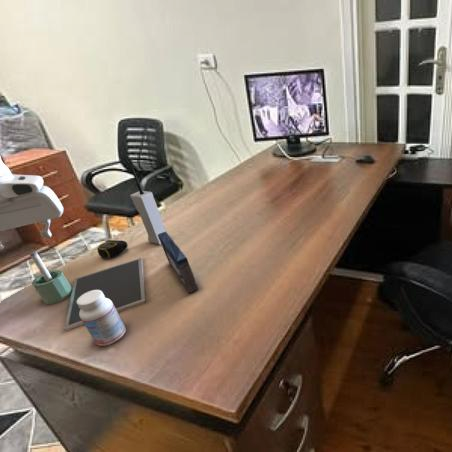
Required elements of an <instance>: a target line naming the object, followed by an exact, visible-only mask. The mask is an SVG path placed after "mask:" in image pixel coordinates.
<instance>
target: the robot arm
mask: <svg viewBox="0 0 452 452" xmlns="http://www.w3.org/2000/svg"><path fill="white" fill-rule="evenodd" d="M64 210H65V209H64V206H63V204H62V202H61V201H60V199H59V197H58V196H57V194H56V193H55V192H54V190H52V189H51V188H50V187H49V186H47V185H44V179H43V177H42V176H41V175H36V174H33V175H32V174H13V173H12V171H11V169H10V168H9V167H8V166H7V165H6V164H5V163H4V162H3V159H2V157H1V155H0V232H3V231H7V230H8V231H9V230H12V229H16V228H17V229H18V228H20V227H25V226H28V225H33V224H37V223H40V224H41V225H42V226H44V229H41V230H40V235H41V236H42V239H43V240H44V239H49V238H51V237H52V232H51V230H50V226H51V222H52V221H51V220H53V219H58V218H61V216H62V215H63V214H64ZM4 248H5V245H4V244H3V242H2V240H0V251H1V250H4Z"/></svg>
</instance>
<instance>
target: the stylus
mask: <svg viewBox="0 0 452 452" xmlns="http://www.w3.org/2000/svg"><path fill="white" fill-rule="evenodd" d="M28 255H29V256H30V258H31V259H32V261H33V262H34V264H35V266H36V268H37V269H38V271H39V272H40V275H43V277H44V278H45V280H46V282H48V281H51V280H52V279H53V278H52V277H51V275H50V273H49V270H48V268H47V267H46V265H45V264H44V262H43V260H42V259H41V257H40V255H39V254H38V252H37V250H34V251H33V250H32V251H31V252H29V253H28Z"/></svg>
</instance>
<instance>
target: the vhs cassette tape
mask: <svg viewBox="0 0 452 452" xmlns="http://www.w3.org/2000/svg"><path fill="white" fill-rule="evenodd" d="M158 237H159V240H160V242H161V245H160V246H161V247H162V250H163V252H164V255H165V256H166V259H167V261H168V263H169V265H170V267H171V268H172V271H174V273H175V275H176V277H177V278H178V279H179V281H180V283H181V284H182V285H183V287H184V288H185V290H186V291H187V292H188V294H191V293H194V292H196V291H197V290H199V287H198V284H197V281H196V279H195V276H194V273H193V270H192V268H191V265H190V263H189V260H188V258H187V256H186V255H185V254H184V252H183V251H182V250H181V248H180V247H179V246H178V245H177V244H176V242H175V241H174V240H173V238H172V237H171V236H170V235H169V233H168V232H167V231H166V232H163V233H160V234H158Z"/></svg>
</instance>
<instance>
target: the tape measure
mask: <svg viewBox="0 0 452 452" xmlns="http://www.w3.org/2000/svg"><path fill="white" fill-rule="evenodd" d="M128 246H129V245H128V243H127V241H126V240H119V239H118V240H117V239H107V240H106V241H105V242H103V243H100V244H99V245H98V247H97V253H98V255H99V257H100V258H102V259H112V258H114V257H117V256H119V255H121V254H122V253H123V252H124V251H125V250H127V248H128Z"/></svg>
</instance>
